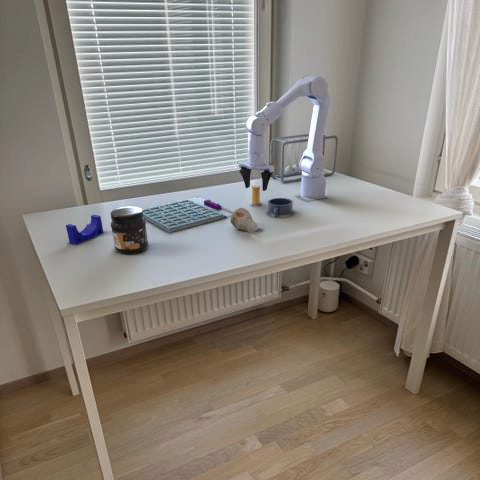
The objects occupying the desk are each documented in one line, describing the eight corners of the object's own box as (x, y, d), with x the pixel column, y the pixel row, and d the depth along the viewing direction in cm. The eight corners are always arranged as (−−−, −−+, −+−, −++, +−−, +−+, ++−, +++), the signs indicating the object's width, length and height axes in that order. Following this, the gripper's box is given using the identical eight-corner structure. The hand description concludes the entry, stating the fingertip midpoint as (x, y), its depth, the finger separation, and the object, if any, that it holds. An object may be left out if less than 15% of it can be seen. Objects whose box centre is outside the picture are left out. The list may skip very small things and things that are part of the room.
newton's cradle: (321, 170, 224) (324, 131, 215) (335, 175, 217) (338, 135, 207) (269, 178, 213) (270, 138, 203) (281, 183, 205) (282, 142, 196)
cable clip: (94, 230, 158) (91, 213, 155) (103, 232, 156) (100, 215, 153) (66, 242, 150) (62, 224, 147) (75, 244, 148) (72, 226, 145)
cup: (271, 208, 176) (271, 197, 173) (294, 210, 173) (295, 199, 171) (263, 218, 166) (263, 206, 164) (287, 221, 164) (288, 208, 161)
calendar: (133, 212, 175) (132, 206, 173) (196, 197, 189) (196, 191, 188) (169, 232, 156) (168, 225, 155) (236, 214, 170) (236, 208, 169)
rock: (249, 238, 151) (235, 210, 148) (237, 241, 160) (224, 215, 157) (266, 228, 153) (253, 200, 151) (254, 232, 162) (241, 206, 160)
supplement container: (110, 255, 140) (104, 217, 134) (120, 241, 149) (114, 205, 143) (144, 255, 140) (139, 217, 133) (152, 242, 149) (147, 205, 142)
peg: (257, 203, 181) (257, 184, 177) (261, 205, 179) (261, 186, 175) (250, 205, 180) (250, 185, 176) (254, 207, 178) (254, 187, 174)
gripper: (233, 152, 169) (234, 188, 177) (267, 156, 163) (267, 194, 170) (243, 148, 174) (244, 184, 182) (277, 152, 168) (276, 189, 175)
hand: (256, 188), depth 176 cm, fingers open, 7 cm apart
